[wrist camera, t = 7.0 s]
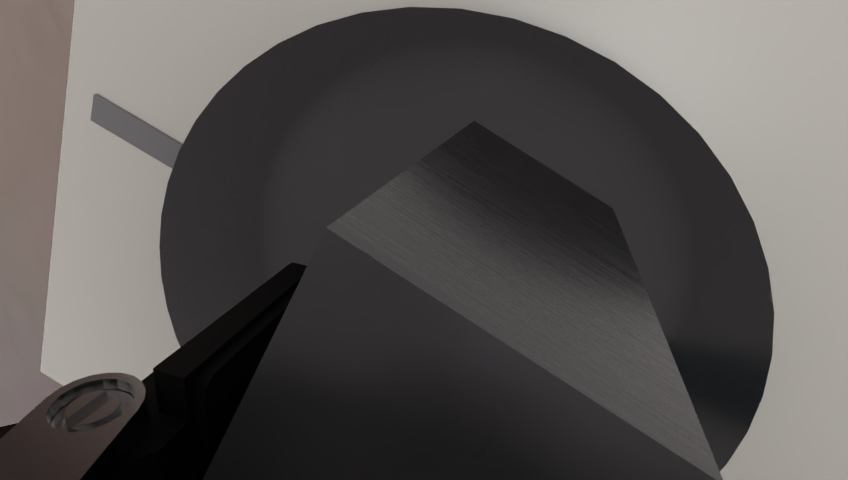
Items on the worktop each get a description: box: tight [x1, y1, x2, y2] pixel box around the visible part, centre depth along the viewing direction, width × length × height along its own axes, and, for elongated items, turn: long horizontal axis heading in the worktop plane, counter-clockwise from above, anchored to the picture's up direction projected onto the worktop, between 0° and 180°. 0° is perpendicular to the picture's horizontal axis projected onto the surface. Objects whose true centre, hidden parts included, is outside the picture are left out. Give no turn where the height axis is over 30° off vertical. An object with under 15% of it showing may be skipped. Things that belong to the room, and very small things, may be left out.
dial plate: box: [40, 0, 848, 480], centre depth 13 cm, size 24×24×2 cm
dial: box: [159, 7, 774, 480], centre depth 8 cm, size 14×14×8 cm
